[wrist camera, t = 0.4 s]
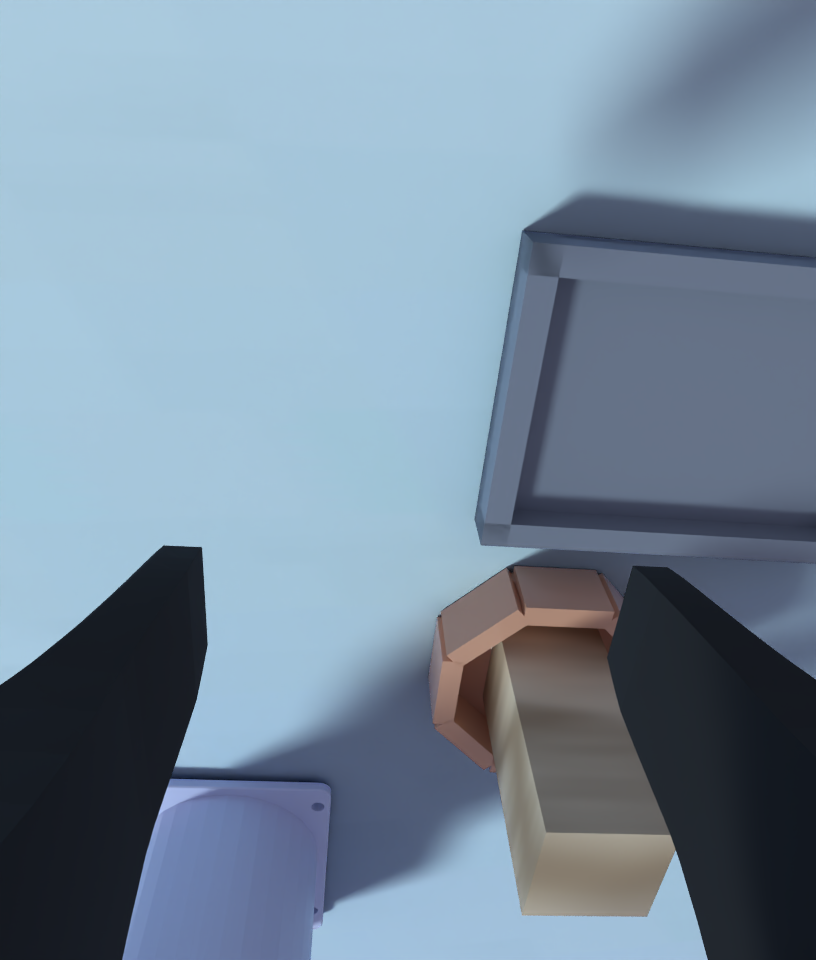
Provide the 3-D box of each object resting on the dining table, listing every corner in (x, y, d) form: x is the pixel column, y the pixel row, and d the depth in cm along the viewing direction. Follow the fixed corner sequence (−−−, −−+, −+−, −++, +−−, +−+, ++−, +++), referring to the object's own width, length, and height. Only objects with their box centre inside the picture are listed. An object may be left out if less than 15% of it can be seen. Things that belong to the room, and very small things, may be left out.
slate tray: (826, 539, 25) (851, 565, 24) (474, 519, 24) (480, 544, 22) (946, 269, 20) (984, 283, 19) (522, 230, 19) (533, 242, 18)
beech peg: (575, 699, 27) (646, 916, 20) (482, 695, 27) (522, 915, 20) (596, 625, 26) (681, 834, 19) (497, 621, 25) (546, 832, 18)
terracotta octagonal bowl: (611, 728, 29) (629, 775, 27) (421, 722, 28) (425, 770, 26) (662, 573, 25) (686, 615, 23) (444, 562, 25) (451, 604, 23)
